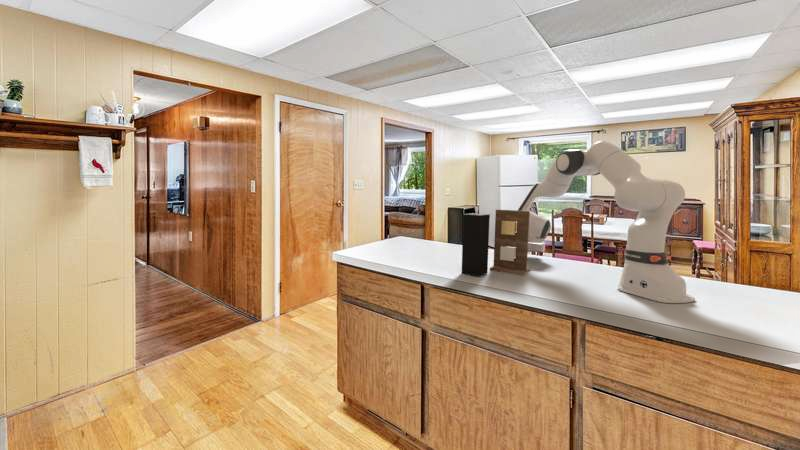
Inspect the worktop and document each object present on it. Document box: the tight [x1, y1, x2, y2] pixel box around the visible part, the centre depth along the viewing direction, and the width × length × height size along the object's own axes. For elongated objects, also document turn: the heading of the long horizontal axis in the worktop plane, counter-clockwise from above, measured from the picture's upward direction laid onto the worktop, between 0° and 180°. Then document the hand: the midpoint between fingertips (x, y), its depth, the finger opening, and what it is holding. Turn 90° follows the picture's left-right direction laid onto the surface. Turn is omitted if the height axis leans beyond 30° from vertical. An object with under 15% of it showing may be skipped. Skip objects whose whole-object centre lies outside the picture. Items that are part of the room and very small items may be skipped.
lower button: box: [500, 246, 516, 261], centre depth 154 cm, size 7×6×6 cm
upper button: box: [501, 221, 517, 235], centre depth 153 cm, size 7×6×6 cm
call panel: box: [489, 208, 531, 276], centre depth 154 cm, size 10×14×26 cm
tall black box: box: [461, 206, 491, 277], centre depth 148 cm, size 8×8×28 cm
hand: (517, 247), depth 165 cm, fingers closed
